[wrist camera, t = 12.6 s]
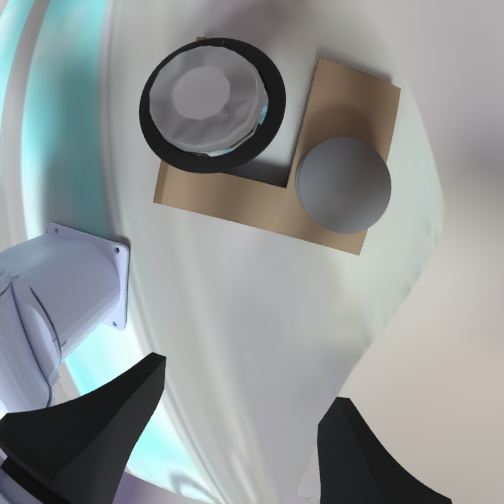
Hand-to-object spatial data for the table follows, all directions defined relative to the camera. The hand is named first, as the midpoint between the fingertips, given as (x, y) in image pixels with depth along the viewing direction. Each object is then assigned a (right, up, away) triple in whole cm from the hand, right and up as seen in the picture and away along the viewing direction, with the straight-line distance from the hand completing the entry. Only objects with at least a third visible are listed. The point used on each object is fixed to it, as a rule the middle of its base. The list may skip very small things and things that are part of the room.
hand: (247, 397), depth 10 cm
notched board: (+2, +13, +7) cm, 15 cm away
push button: (0, +14, +7) cm, 16 cm away
